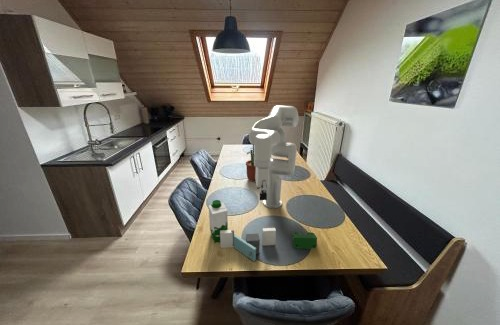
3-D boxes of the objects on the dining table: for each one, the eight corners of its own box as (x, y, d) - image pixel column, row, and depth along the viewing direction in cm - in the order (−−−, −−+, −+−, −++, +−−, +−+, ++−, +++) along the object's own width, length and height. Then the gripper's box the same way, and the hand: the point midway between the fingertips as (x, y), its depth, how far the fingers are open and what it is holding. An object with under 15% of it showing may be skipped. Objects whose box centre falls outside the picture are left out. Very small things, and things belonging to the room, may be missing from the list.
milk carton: (224, 229, 117) (223, 197, 109) (230, 240, 109) (229, 207, 101) (209, 233, 113) (206, 201, 106) (213, 244, 106) (211, 211, 98)
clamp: (308, 248, 110) (316, 233, 109) (312, 255, 104) (320, 239, 103) (288, 239, 110) (296, 224, 108) (290, 245, 104) (298, 229, 103)
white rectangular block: (220, 244, 106) (220, 230, 102) (273, 241, 108) (275, 227, 105) (220, 247, 104) (219, 233, 100) (274, 244, 106) (275, 230, 103)
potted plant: (243, 177, 175) (243, 136, 161) (259, 174, 181) (261, 135, 167) (252, 187, 160) (253, 143, 147) (269, 183, 166) (272, 140, 153)
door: (235, 245, 105) (235, 234, 102) (255, 259, 97) (256, 248, 94) (232, 248, 103) (231, 237, 100) (252, 263, 95) (252, 251, 93)
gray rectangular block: (245, 246, 105) (246, 234, 102) (257, 246, 105) (258, 233, 102) (246, 254, 101) (246, 240, 97) (259, 253, 101) (259, 240, 98)
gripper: (252, 154, 102) (252, 184, 110) (256, 171, 87) (256, 205, 94) (267, 154, 103) (266, 184, 110) (274, 170, 87) (272, 204, 95)
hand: (261, 193), depth 102 cm, fingers open, 9 cm apart
